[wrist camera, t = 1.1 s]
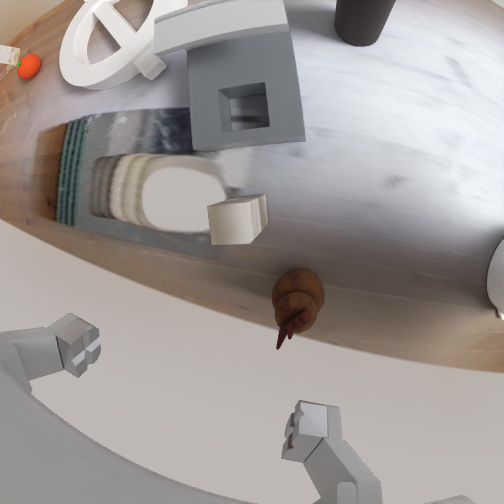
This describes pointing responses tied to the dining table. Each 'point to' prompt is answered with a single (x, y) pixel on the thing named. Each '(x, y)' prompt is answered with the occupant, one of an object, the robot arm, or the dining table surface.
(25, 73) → the clementine
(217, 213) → the peg
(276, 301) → the wooden figurine
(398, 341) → the dining table surface
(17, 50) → the coffeecake box
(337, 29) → the bottle
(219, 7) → the socket block
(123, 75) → the ring with crossbar
